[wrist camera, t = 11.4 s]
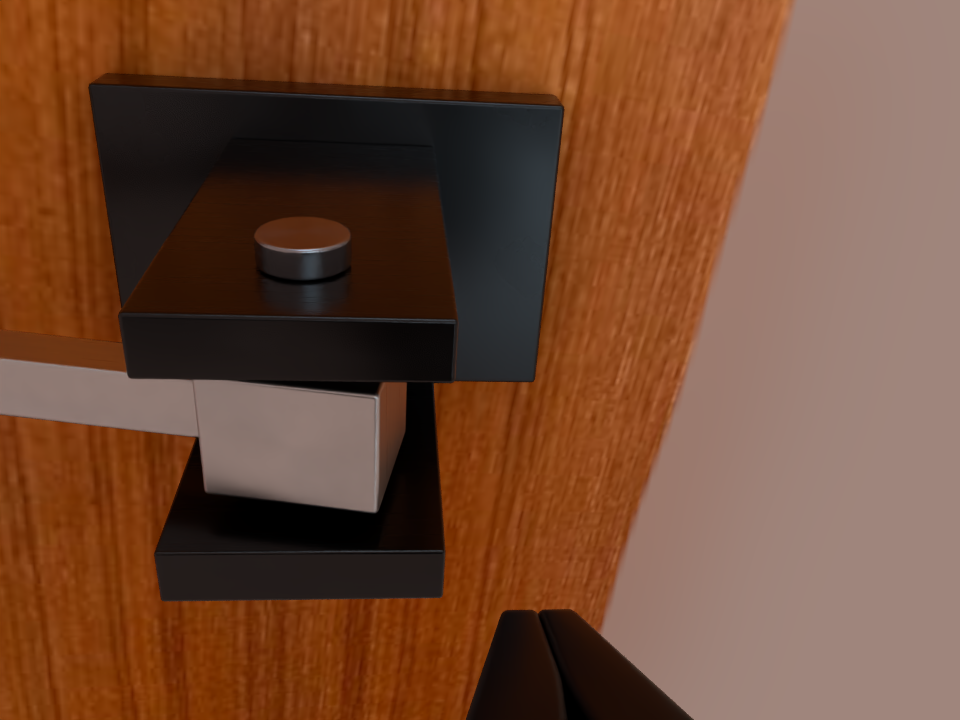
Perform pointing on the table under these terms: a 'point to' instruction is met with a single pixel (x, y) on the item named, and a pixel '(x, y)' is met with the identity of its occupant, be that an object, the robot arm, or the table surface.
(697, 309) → the table surface
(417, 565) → the bracket
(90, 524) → the table surface
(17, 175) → the table surface
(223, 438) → the lever
